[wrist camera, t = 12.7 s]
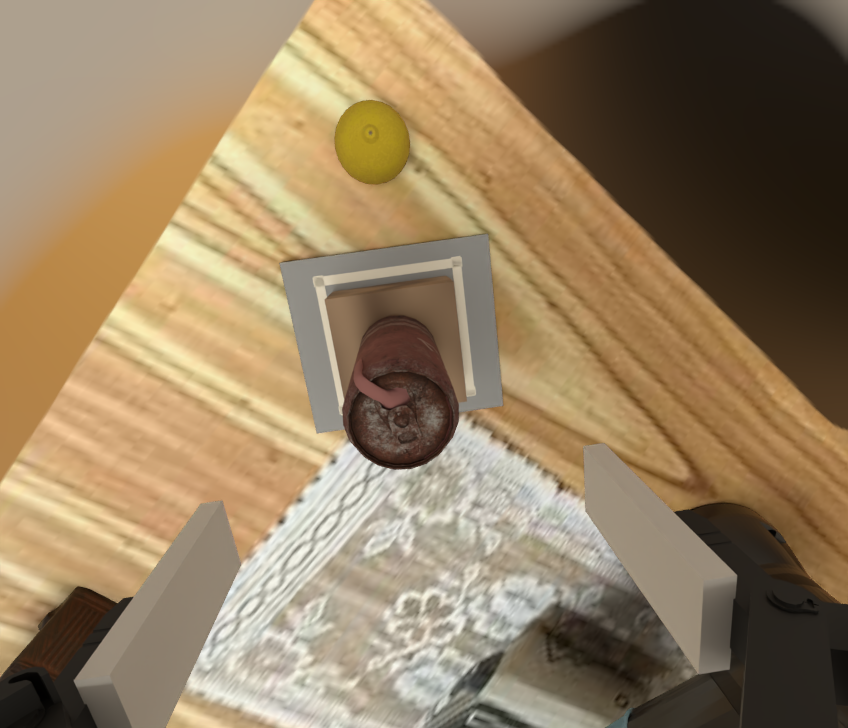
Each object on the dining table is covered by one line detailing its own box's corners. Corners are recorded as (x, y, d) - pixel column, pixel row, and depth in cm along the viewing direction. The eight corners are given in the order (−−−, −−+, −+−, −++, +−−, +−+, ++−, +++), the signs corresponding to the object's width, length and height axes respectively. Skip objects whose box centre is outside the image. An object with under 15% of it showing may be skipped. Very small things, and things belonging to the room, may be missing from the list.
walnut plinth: (446, 275, 40) (453, 281, 35) (458, 382, 42) (467, 401, 38) (332, 291, 39) (324, 299, 34) (353, 398, 42) (347, 419, 37)
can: (386, 296, 35) (382, 336, 21) (451, 343, 36) (485, 408, 23) (341, 358, 36) (311, 433, 22) (406, 401, 37) (414, 496, 24)
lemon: (387, 201, 38) (386, 194, 31) (329, 165, 37) (312, 147, 30) (420, 141, 37) (427, 117, 30) (361, 101, 36) (352, 66, 29)
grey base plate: (485, 234, 40) (488, 234, 39) (500, 401, 44) (503, 406, 43) (282, 262, 39) (279, 263, 38) (318, 429, 44) (316, 433, 43)
